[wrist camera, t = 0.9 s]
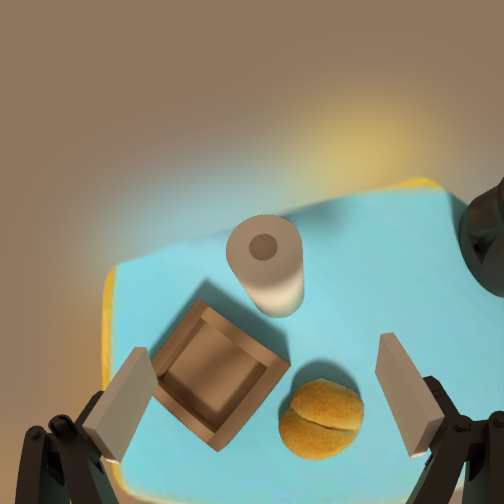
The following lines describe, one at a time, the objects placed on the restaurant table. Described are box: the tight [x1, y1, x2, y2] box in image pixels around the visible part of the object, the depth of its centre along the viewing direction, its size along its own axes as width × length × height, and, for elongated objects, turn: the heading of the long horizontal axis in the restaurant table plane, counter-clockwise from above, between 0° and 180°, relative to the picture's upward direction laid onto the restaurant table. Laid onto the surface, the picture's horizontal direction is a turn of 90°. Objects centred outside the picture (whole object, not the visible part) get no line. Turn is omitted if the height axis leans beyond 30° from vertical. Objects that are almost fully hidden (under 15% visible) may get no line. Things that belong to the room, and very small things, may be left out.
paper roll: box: [226, 215, 304, 318], centre depth 28 cm, size 6×6×12 cm
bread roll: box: [278, 378, 364, 460], centre depth 25 cm, size 8×9×4 cm
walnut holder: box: [151, 299, 291, 452], centre depth 29 cm, size 12×12×3 cm
